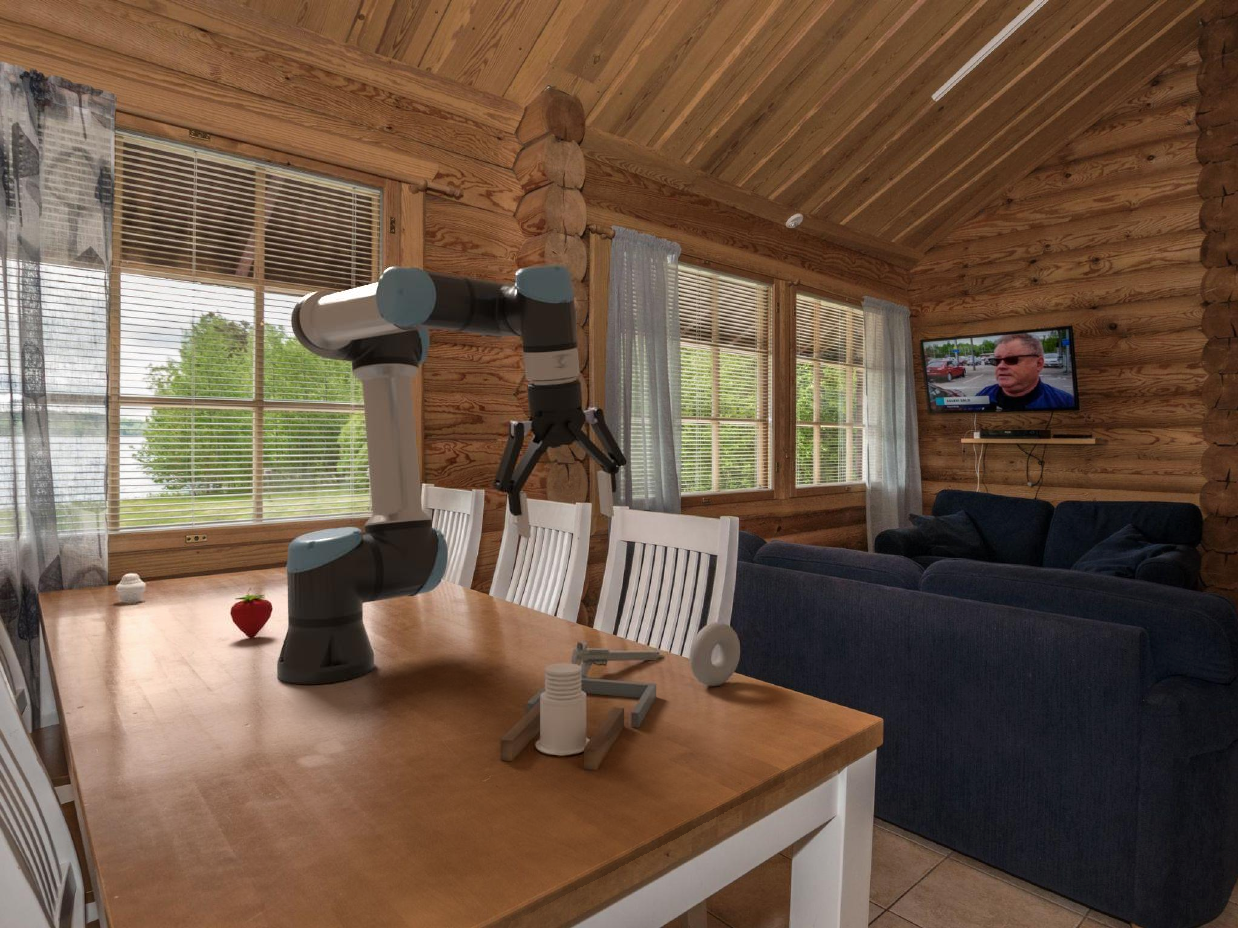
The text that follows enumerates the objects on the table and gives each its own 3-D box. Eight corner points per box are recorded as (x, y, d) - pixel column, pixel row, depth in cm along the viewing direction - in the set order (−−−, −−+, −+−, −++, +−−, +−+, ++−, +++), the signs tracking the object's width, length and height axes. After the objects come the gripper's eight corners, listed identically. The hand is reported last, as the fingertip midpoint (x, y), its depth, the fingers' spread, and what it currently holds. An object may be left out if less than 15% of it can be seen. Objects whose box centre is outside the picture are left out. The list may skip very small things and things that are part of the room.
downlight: (589, 759, 92) (589, 676, 92) (531, 758, 92) (531, 675, 92) (592, 736, 100) (592, 660, 100) (539, 735, 100) (539, 659, 100)
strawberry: (276, 637, 148) (275, 586, 148) (234, 644, 143) (233, 591, 143) (269, 631, 152) (268, 582, 152) (227, 637, 148) (226, 586, 147)
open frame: (526, 717, 106) (526, 702, 106) (555, 688, 118) (555, 675, 118) (638, 727, 102) (638, 712, 102) (656, 696, 114) (656, 683, 114)
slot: (500, 759, 92) (500, 739, 92) (539, 718, 105) (539, 700, 105) (596, 770, 89) (596, 749, 89) (624, 726, 102) (624, 707, 102)
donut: (700, 694, 115) (700, 629, 115) (684, 689, 118) (684, 625, 117) (744, 681, 121) (745, 619, 121) (728, 676, 124) (729, 615, 124)
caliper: (575, 683, 121) (575, 644, 121) (570, 681, 122) (570, 643, 122) (664, 658, 135) (664, 623, 135) (660, 657, 136) (660, 622, 136)
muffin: (123, 605, 176) (122, 575, 176) (110, 602, 179) (110, 573, 179) (151, 601, 181) (150, 571, 181) (138, 598, 185) (138, 569, 184)
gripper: (478, 395, 96) (497, 552, 102) (643, 370, 108) (652, 511, 114) (458, 390, 103) (477, 538, 108) (616, 367, 115) (626, 500, 120)
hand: (567, 524), depth 111 cm, fingers open, 13 cm apart
